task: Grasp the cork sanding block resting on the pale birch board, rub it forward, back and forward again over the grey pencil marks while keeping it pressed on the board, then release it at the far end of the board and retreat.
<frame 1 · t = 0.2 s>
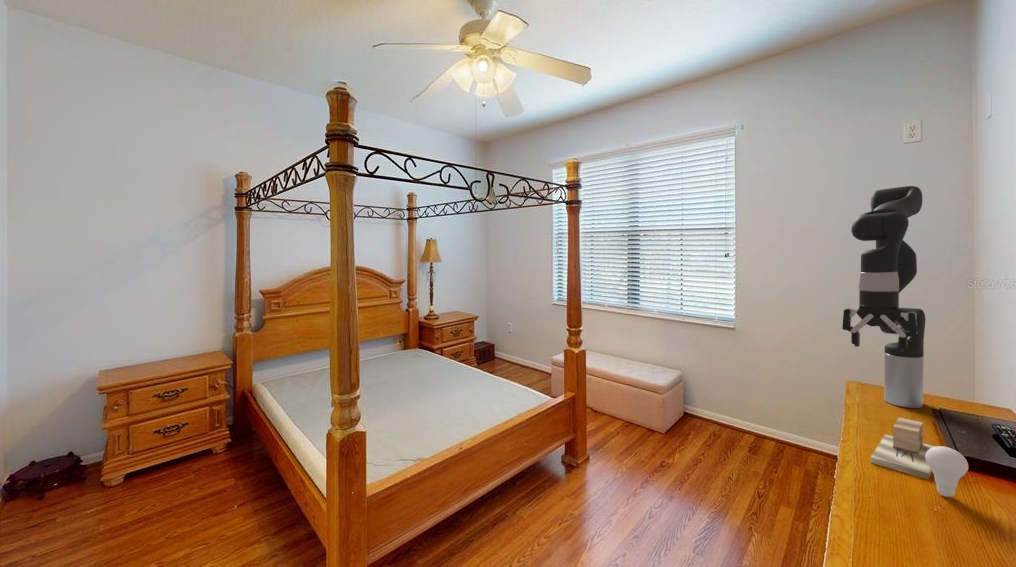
hand: (878, 348, 101), 28 cm above the dresser, fingers open, 8 cm apart
lightbulb: (945, 497, 82), on the dresser
board: (904, 457, 97), on the dresser
sanding block: (907, 446, 100), point 2 cm above the dresser, touching board
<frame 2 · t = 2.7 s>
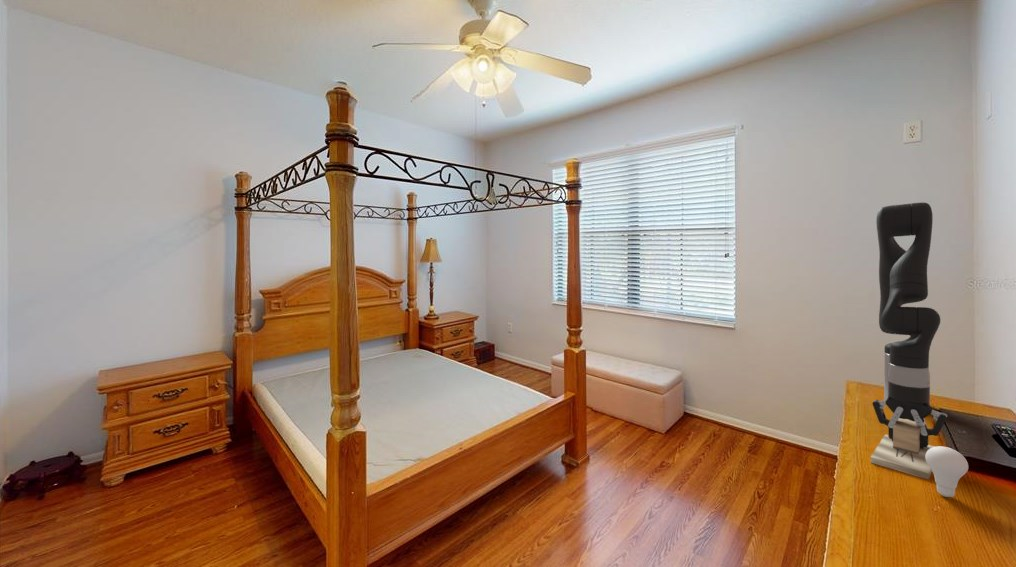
hand: (907, 443, 100), 2 cm above the dresser, fingers closed on sanding block, 4 cm apart
sanding block: (907, 446, 100), point 2 cm above the dresser, touching board, gripper
everything else where it was.
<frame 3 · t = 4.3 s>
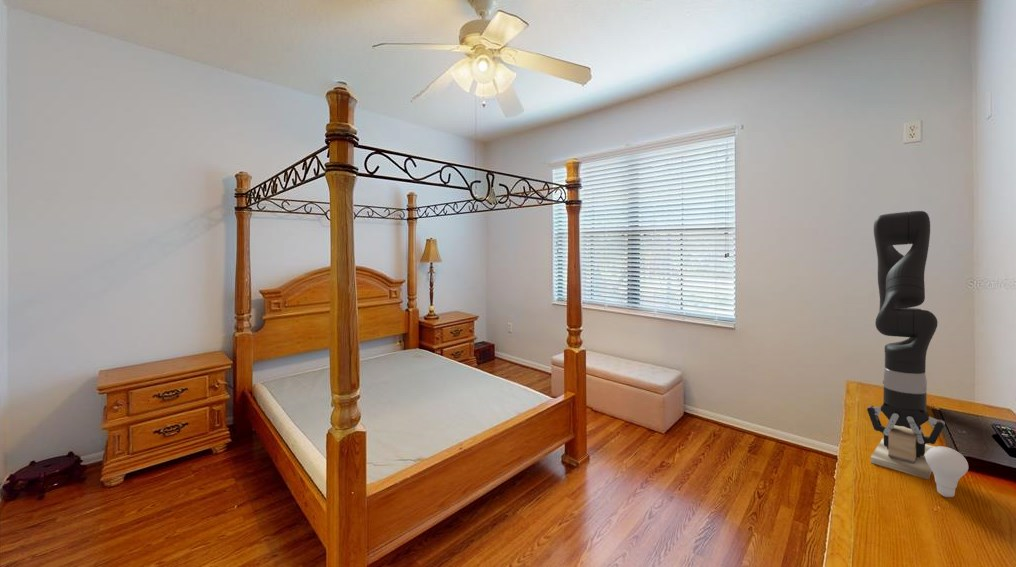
hand: (903, 452, 96), 2 cm above the dresser, fingers closed on sanding block, 4 cm apart
sanding block: (903, 454, 96), point 2 cm above the dresser, touching gripper
everything else where it was.
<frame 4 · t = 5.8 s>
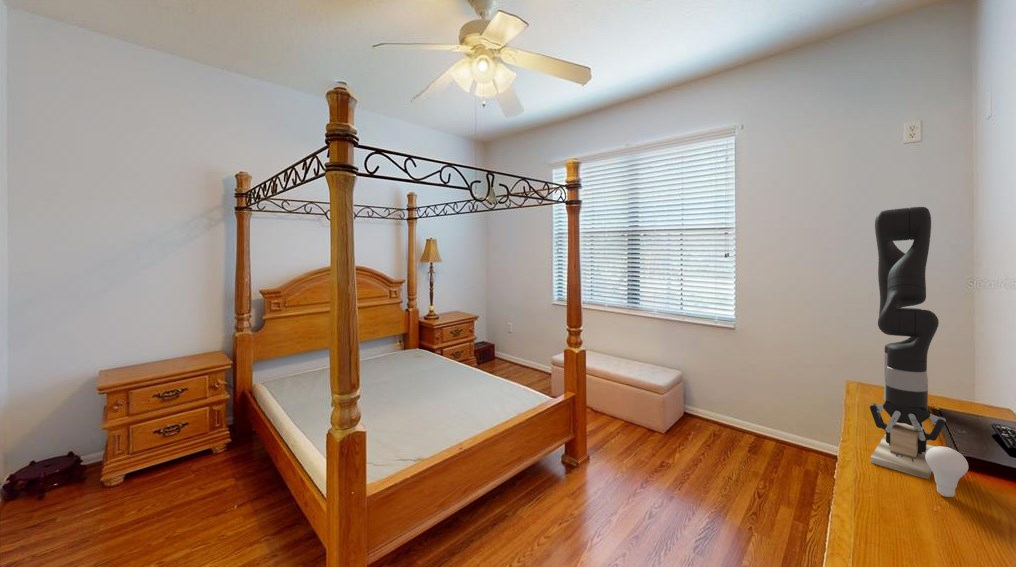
hand: (905, 448, 98), 2 cm above the dresser, fingers closed on sanding block, 4 cm apart
sanding block: (905, 450, 98), point 2 cm above the dresser, touching gripper
everything else where it was.
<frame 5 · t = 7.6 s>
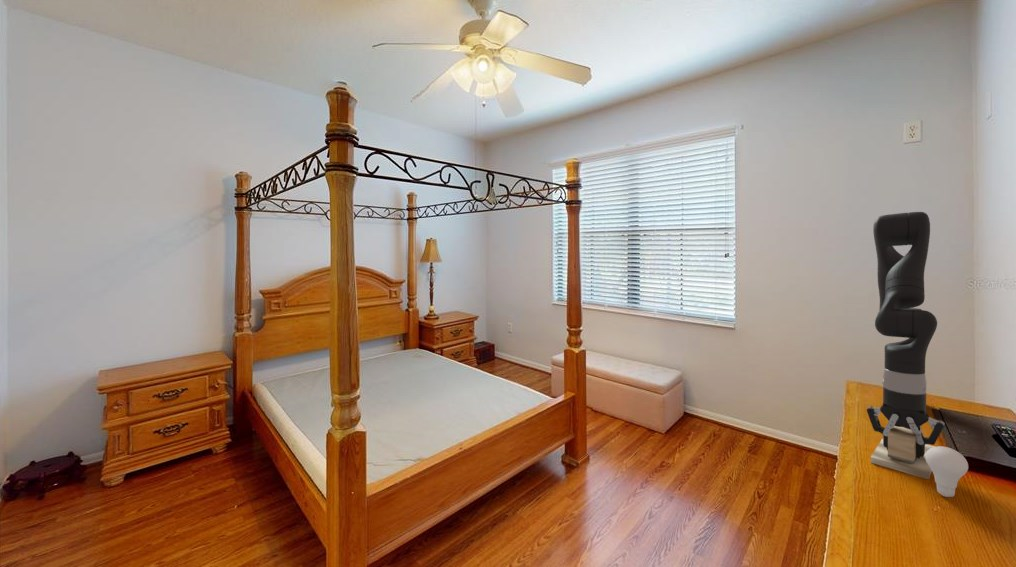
hand: (903, 452, 96), 2 cm above the dresser, fingers closed on sanding block, 4 cm apart
sanding block: (903, 454, 95), point 2 cm above the dresser, touching gripper
everything else where it was.
when the fingers open (2 cm above the dresser, at t = 9.0 s): sanding block stays where it is, resting on board.
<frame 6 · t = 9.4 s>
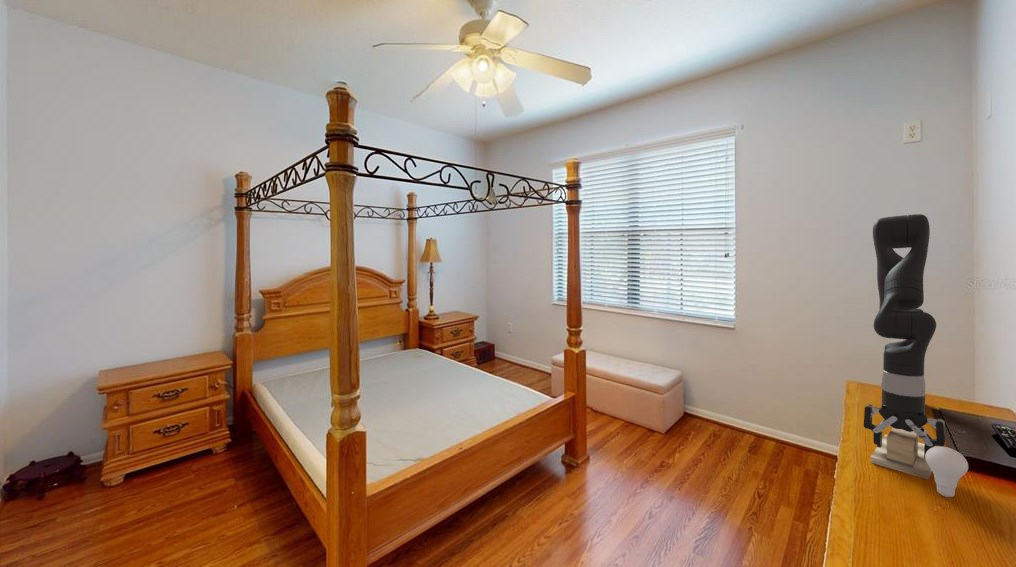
hand: (902, 452, 95), 3 cm above the dresser, fingers open, 8 cm apart
sanding block: (902, 457, 95), point 2 cm above the dresser, touching board
everything else where it was.
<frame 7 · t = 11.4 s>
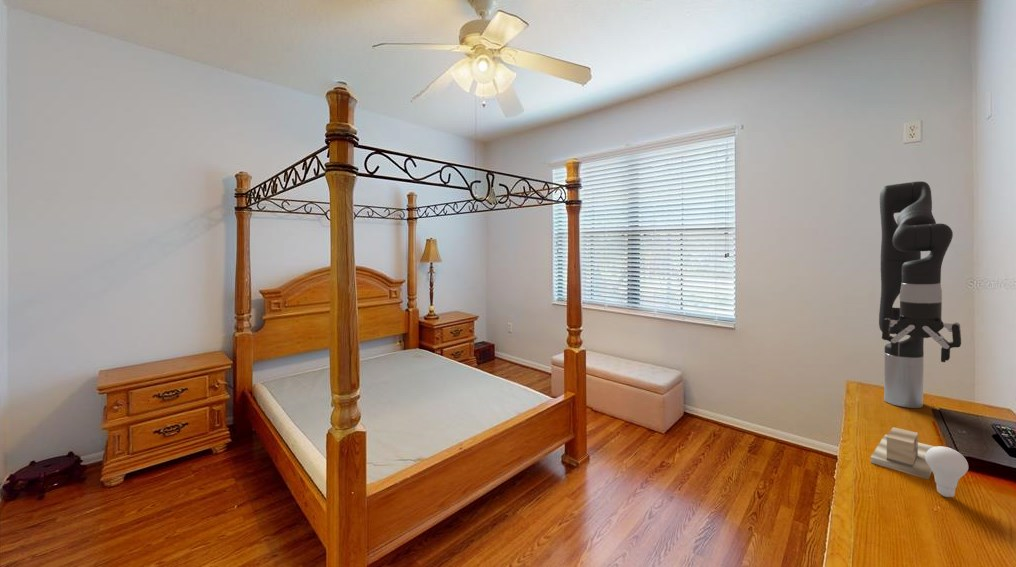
hand: (919, 358, 102), 24 cm above the dresser, fingers open, 8 cm apart
nothing on the dresser moved.
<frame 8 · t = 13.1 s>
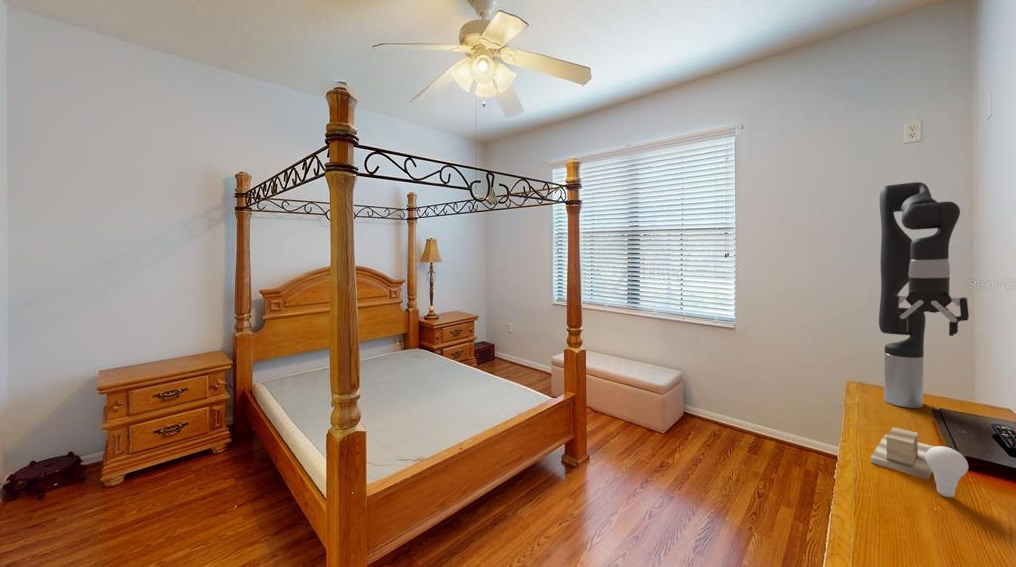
hand: (927, 333, 105), 30 cm above the dresser, fingers open, 8 cm apart
nothing on the dresser moved.
at the end: sanding block inside the target area (0.4 cm from its centre), point 1.5 cm above the dresser; sanding block tilted 0°; the gripper is holding nothing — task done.
